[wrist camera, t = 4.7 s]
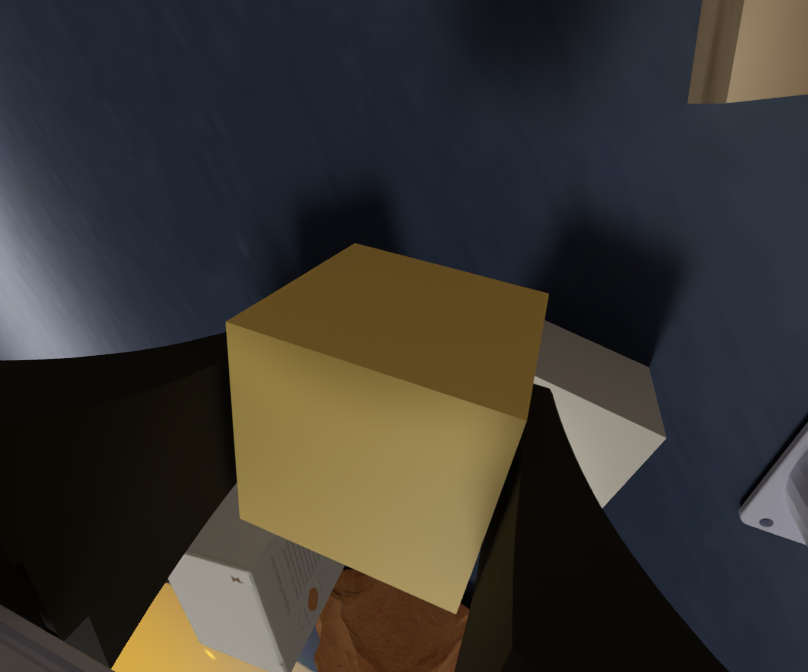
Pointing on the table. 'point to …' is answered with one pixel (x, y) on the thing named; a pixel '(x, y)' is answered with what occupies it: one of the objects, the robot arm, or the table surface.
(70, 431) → the robot arm
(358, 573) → the stone
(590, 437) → the grey cube
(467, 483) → the mustard cube
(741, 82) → the maple cube
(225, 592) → the small box
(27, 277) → the table surface
